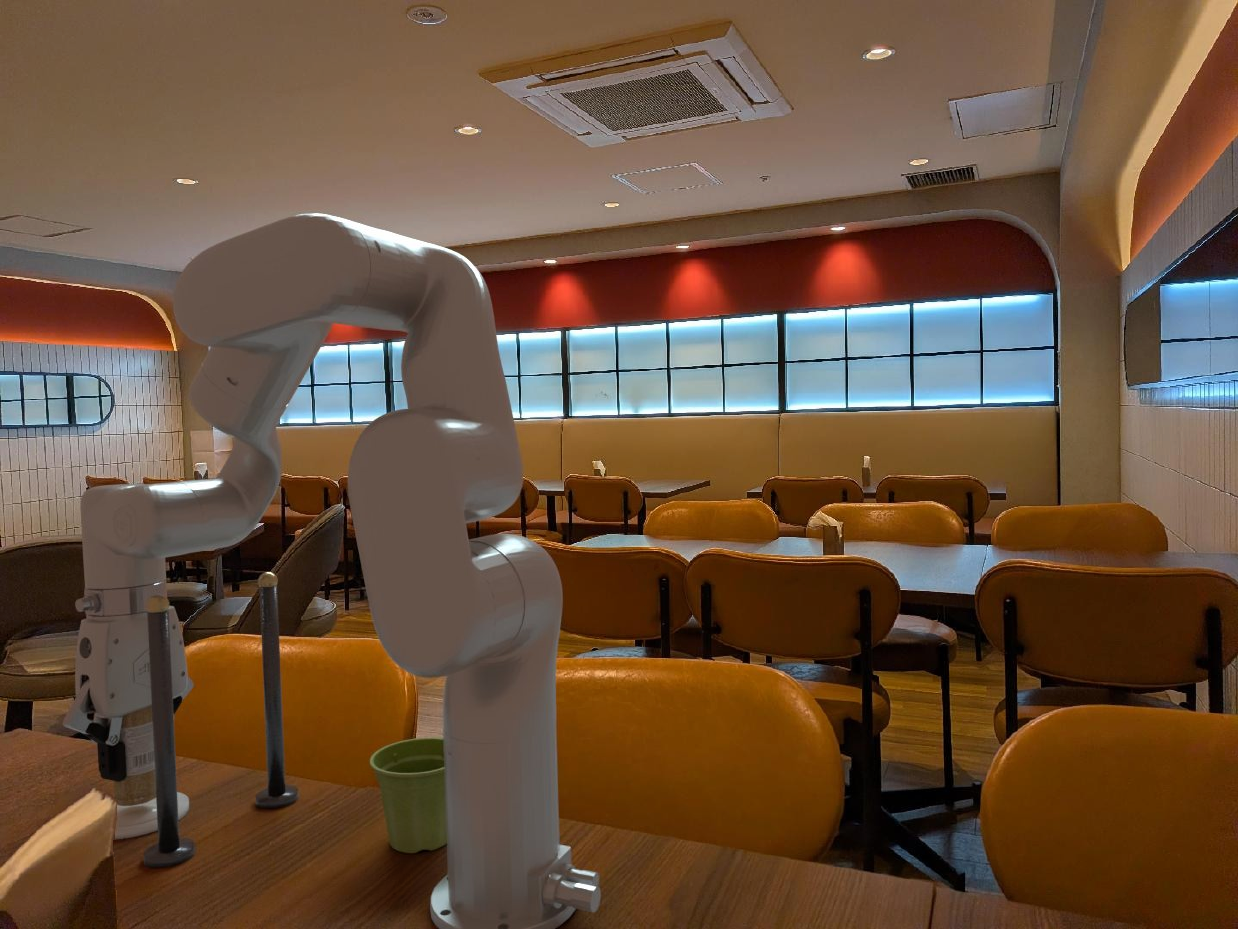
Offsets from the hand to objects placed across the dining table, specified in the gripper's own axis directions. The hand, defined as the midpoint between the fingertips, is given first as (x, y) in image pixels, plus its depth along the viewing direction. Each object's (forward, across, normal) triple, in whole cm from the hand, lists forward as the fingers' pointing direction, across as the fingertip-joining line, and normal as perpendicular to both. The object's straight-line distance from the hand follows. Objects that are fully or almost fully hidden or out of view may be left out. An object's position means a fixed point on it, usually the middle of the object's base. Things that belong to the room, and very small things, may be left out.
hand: (136, 768), depth 92 cm
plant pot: (+6, +7, -32) cm, 33 cm away
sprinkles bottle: (+4, 0, 0) cm, 4 cm away
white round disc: (+5, 0, 0) cm, 5 cm away
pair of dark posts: (+6, +2, -11) cm, 12 cm away
